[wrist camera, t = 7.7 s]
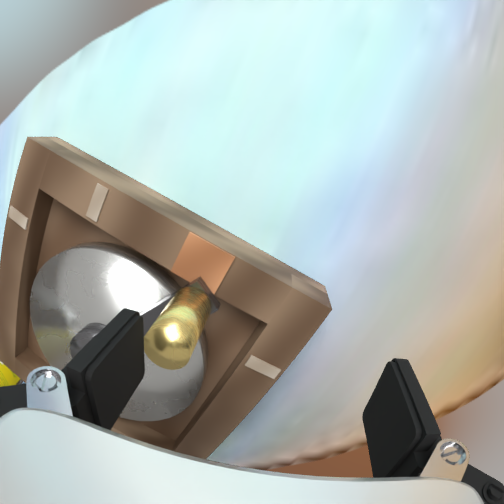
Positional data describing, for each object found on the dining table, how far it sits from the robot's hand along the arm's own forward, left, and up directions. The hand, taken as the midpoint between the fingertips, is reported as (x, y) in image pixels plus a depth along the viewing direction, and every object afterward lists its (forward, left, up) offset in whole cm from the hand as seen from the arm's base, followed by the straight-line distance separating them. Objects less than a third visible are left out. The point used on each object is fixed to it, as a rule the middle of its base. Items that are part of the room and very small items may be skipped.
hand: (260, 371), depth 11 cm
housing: (+7, +9, -9) cm, 15 cm away
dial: (+7, +8, -8) cm, 13 cm away
